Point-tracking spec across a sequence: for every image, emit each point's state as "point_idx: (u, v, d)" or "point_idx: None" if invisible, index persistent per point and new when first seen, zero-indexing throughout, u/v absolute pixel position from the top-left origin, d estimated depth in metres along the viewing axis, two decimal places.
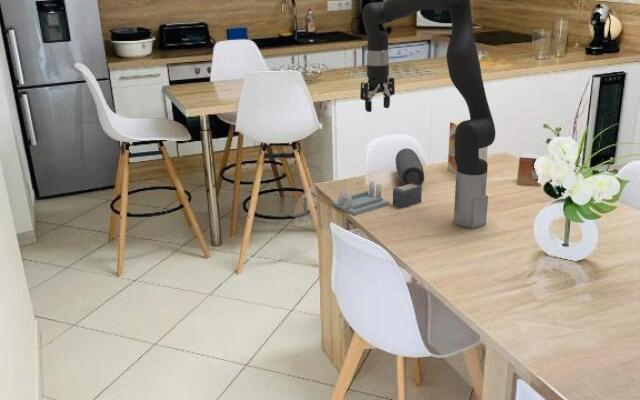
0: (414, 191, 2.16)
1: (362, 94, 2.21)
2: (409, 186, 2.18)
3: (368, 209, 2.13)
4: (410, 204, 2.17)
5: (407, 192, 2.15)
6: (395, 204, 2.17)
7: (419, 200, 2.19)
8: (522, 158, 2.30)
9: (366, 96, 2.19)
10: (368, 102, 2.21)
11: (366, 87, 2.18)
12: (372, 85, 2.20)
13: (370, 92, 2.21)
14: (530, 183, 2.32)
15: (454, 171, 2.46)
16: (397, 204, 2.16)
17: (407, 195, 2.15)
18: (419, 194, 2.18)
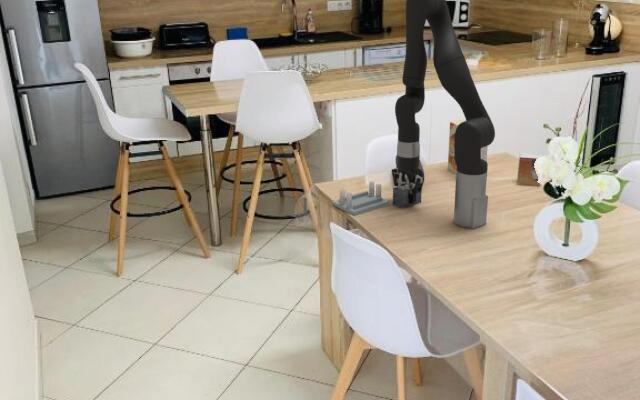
0: None
1: None
2: None
3: (368, 209, 2.13)
4: (410, 204, 2.17)
5: (407, 191, 2.15)
6: (395, 204, 2.17)
7: (419, 200, 2.19)
8: (522, 158, 2.30)
9: None
10: None
11: None
12: None
13: (413, 184, 2.14)
14: (530, 183, 2.32)
15: (454, 171, 2.46)
16: (397, 204, 2.16)
17: (406, 195, 2.15)
18: (419, 194, 2.18)
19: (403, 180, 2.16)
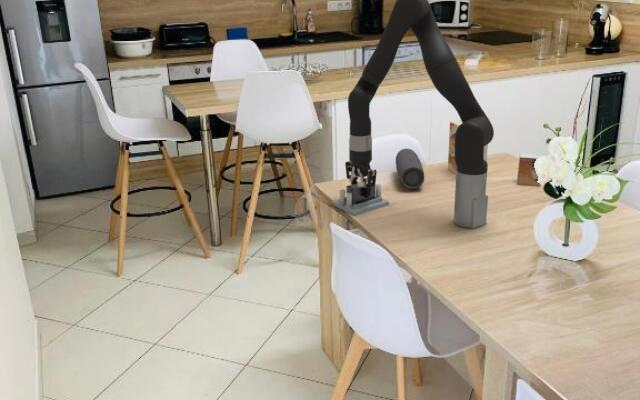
0: None
1: None
2: None
3: (368, 209, 2.13)
4: None
5: (360, 189, 2.14)
6: None
7: (373, 198, 2.18)
8: (522, 158, 2.30)
9: None
10: None
11: None
12: None
13: (367, 178, 2.13)
14: (530, 183, 2.32)
15: (454, 171, 2.46)
16: None
17: (360, 193, 2.14)
18: (373, 192, 2.18)
19: (355, 174, 2.15)
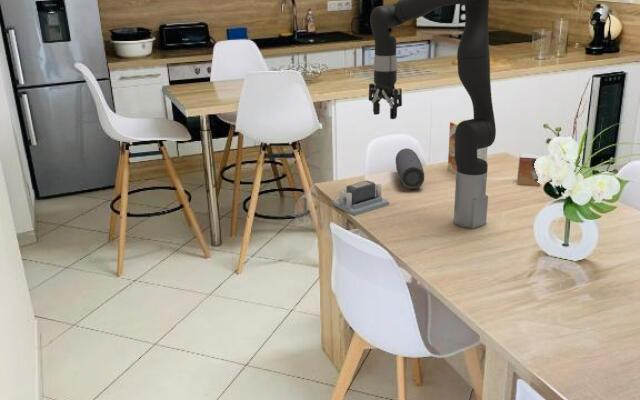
0: (367, 189, 2.16)
1: None
2: (363, 183, 2.17)
3: (368, 209, 2.13)
4: None
5: (360, 189, 2.14)
6: None
7: (373, 198, 2.18)
8: (522, 158, 2.30)
9: None
10: None
11: None
12: None
13: (393, 98, 2.13)
14: (530, 183, 2.32)
15: (454, 171, 2.46)
16: None
17: (360, 193, 2.14)
18: (373, 192, 2.18)
19: (379, 96, 2.16)
